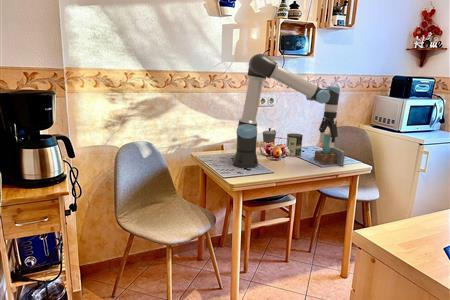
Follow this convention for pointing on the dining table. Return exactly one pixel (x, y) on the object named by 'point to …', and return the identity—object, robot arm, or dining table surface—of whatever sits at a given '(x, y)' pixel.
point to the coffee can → (294, 144)
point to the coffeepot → (269, 136)
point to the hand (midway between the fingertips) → (326, 144)
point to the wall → (338, 155)
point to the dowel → (326, 144)
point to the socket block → (325, 157)
